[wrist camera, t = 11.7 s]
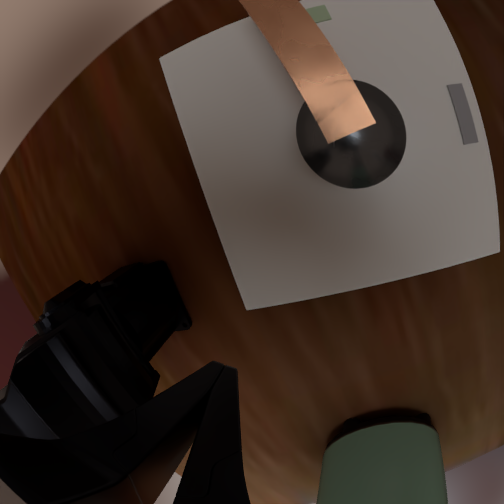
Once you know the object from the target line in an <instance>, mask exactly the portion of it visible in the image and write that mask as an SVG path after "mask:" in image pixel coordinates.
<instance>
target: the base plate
mask: <svg viewBox="0 0 504 504" xmlns="http://www.w3.org/2000/svg"><path fill="white" fill-rule="evenodd" d="M299 2H300V3H301V4H302V6H303V7H304V8H305V10H306V11H307V12H308V13H309V15H310V16H311V17H312V19H313V20H314V22H315V23H316V24H317V26H318V27H319V28H320V30H321V31H322V33H323V34H324V36H325V37H326V38H327V40H328V41H329V43H330V44H331V46H332V47H333V49H334V50H335V52H336V53H337V55H338V57H339V58H340V60H341V61H342V63H343V65H344V66H345V68H346V69H347V71H348V73H349V74H350V76H351V78H352V80H358V81H363V82H366V83H369V84H371V85H373V86H375V87H377V88H378V89H380V90H381V91H383V92H384V93H385V94H386V95H388V96H389V98H390V99H391V100H392V101H393V102H394V103H395V105H396V106H397V108H398V109H399V111H400V113H401V115H402V118H403V120H404V124H405V128H406V148H405V152H404V155H403V158H402V160H401V162H400V164H399V165H398V167H397V168H396V170H395V171H394V172H393V173H392V174H391V175H390V176H389V177H388V178H386V179H385V180H384V181H382V182H380V183H378V184H376V185H373V186H371V187H367V188H360V189H350V188H344V187H339V186H336V185H334V184H331V183H329V182H327V181H326V180H324V179H322V178H321V177H320V176H318V175H317V174H316V173H315V172H314V171H313V170H312V169H311V168H310V167H309V166H308V164H307V163H306V161H305V160H304V158H303V156H302V154H301V152H300V150H299V147H298V143H297V138H296V122H297V118H298V114H299V111H300V109H301V107H302V105H303V103H304V99H303V98H302V96H301V94H300V92H299V91H298V89H297V87H296V86H295V84H294V82H293V81H292V79H291V77H290V76H289V74H288V72H287V71H286V69H285V68H284V66H283V64H282V63H281V61H280V60H279V58H278V57H277V55H276V53H275V52H274V50H273V49H272V47H271V46H270V44H269V43H268V41H267V40H266V38H265V37H264V36H263V34H262V33H261V31H260V30H259V28H258V27H257V25H256V24H255V23H254V21H253V20H252V19H251V17H247V18H245V19H242V20H239V21H237V22H234V23H232V24H229V25H227V26H225V27H222V28H220V29H217V30H215V31H213V32H211V33H208V34H206V35H204V36H202V37H200V38H198V39H196V40H193V41H191V42H189V43H187V44H185V45H183V46H181V47H180V48H178V49H176V50H174V51H172V52H170V53H168V54H166V55H165V56H163V57H161V58H159V60H160V63H161V66H162V69H163V72H164V75H165V79H166V82H167V85H168V88H169V91H170V94H171V97H172V100H173V104H174V107H175V110H176V113H177V116H178V119H179V122H180V125H181V128H182V131H183V134H184V137H185V140H186V143H187V146H188V149H189V152H190V155H191V158H192V161H193V163H194V166H195V169H196V172H197V175H198V178H199V181H200V184H201V187H202V190H203V192H204V195H205V198H206V201H207V204H208V207H209V209H210V212H211V215H212V218H213V221H214V223H215V226H216V229H217V232H218V235H219V237H220V240H221V243H222V246H223V248H224V251H225V254H226V257H227V259H228V262H229V265H230V268H231V270H232V273H233V276H234V278H235V281H236V284H237V286H238V289H239V292H240V294H241V297H242V300H243V302H244V305H245V308H246V310H252V309H258V308H264V307H269V306H275V305H281V304H286V303H292V302H297V301H302V300H307V299H313V298H318V297H323V296H328V295H332V294H337V293H342V292H347V291H351V290H356V289H361V288H365V287H369V286H374V285H378V284H383V283H387V282H391V281H395V280H399V279H403V278H407V277H412V276H415V275H419V274H423V273H427V272H431V271H435V270H439V269H442V268H446V267H450V266H453V265H457V264H460V263H464V262H468V261H471V260H474V259H478V258H481V257H485V256H488V255H491V254H494V253H498V252H500V237H499V219H498V207H497V197H496V189H495V182H494V175H493V169H492V163H491V157H490V152H489V147H488V143H487V138H486V134H485V130H484V126H483V122H482V118H481V114H480V111H479V107H478V104H477V101H476V97H475V94H474V91H473V88H472V85H471V82H470V79H469V77H468V74H467V71H466V68H465V66H464V63H463V61H462V58H461V56H460V53H459V51H458V49H457V46H456V44H455V42H454V40H453V38H452V35H451V33H450V31H449V29H448V27H447V25H446V23H445V21H444V19H443V17H442V15H441V13H440V11H439V10H438V8H437V6H436V4H435V2H434V1H433V0H301V1H299Z"/></svg>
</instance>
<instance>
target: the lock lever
mask: <svg viewBox="0 0 504 504" xmlns="http://www.w3.org/2000/svg"><path fill="white" fill-rule="evenodd" d="M238 1H239V2H240V3H241V5H242V6H243V7H244V9H245V10H246V11H247V13H248V14H249V16H250V17H251V19H252V20H253V21H254V23H255V24H256V25H257V27H258V28H259V30H260V31H261V33H262V34H263V36H264V37H265V38H266V40H267V41H268V43H269V44H270V46H271V47H272V49H273V50H274V52H275V53H276V55H277V57H278V58H279V60H280V61H281V63H282V64H283V66H284V68H285V69H286V71H287V72H288V74H289V76H290V77H291V79H292V81H293V82H294V84H295V86H296V87H297V89H298V91H299V92H300V94H301V96H302V98H303V99H304V103H303V105H302V107H301V109H300V111H299V114H298V118H297V122H296V138H297V143H298V147H299V150H300V152H301V154H302V156H303V158H304V160H305V161H306V163H307V164H308V166H309V167H310V168H311V169H312V170H313V171H314V172H315V173H316V174H317V175H318V176H320V177H321V178H322V179H324V180H326V181H327V182H329V183H331V184H334V185H336V186H339V187H344V188H350V189H360V188H367V187H371V186H373V185H376V184H378V183H380V182H382V181H384V180H385V179H386V178H388V177H389V176H390V175H391V174H392V173H393V172H394V171H395V170H396V168H397V167H398V165H399V164H400V162H401V160H402V158H403V155H404V152H405V148H406V128H405V124H404V120H403V118H402V115H401V113H400V111H399V109H398V108H397V106H396V105H395V103H394V102H393V101H392V100H391V99H390V98H389V96H388V95H386V94H385V93H384V92H383V91H381V90H380V89H378V88H377V87H375V86H373V85H371V84H369V83H366V82H363V81H358V80H352V78H351V76H350V74H349V73H348V71H347V69H346V68H345V66H344V65H343V63H342V61H341V60H340V58H339V57H338V55H337V53H336V52H335V50H334V49H333V47H332V46H331V44H330V43H329V41H328V40H327V38H326V37H325V36H324V34H323V33H322V31H321V30H320V28H319V27H318V26H317V24H316V23H315V22H314V20H313V19H312V17H311V16H310V15H309V13H308V12H307V11H306V10H305V8H304V7H303V6H302V4H301V3H300V2H299V1H298V0H238Z"/></svg>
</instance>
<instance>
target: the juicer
mask: <svg viewBox="0 0 504 504" xmlns="http://www.w3.org/2000/svg"><path fill="white" fill-rule="evenodd" d="M316 504H448V500H447V489H446V480H445V472H444V465H443V458H442V452H441V446H440V441H439V435H438V432H437V431H436V429H435V428H434V427H433V426H432V424H431V420H430V416H429V415H428V414H420V415H418V416H416V417H415V418H413V417H408V416H391V417H384V418H377V419H373V420H370V421H366V422H362V421H361V420H360V419H356V418H353V419H349V420H347V421H345V423H344V428H343V432H342V433H340V434H339V435H337V436H336V437H334V439H333V440H332V441H331V442H330V443H329V444H328V445H327V448H326V450H325V452H324V455H323V460H322V468H321V476H320V483H319V490H318V496H317V503H316Z"/></svg>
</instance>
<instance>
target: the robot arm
mask: <svg viewBox="0 0 504 504" xmlns="http://www.w3.org/2000/svg"><path fill="white" fill-rule="evenodd" d="M159 265H160V266H161V267H162V269H161V268H160V267H159ZM39 318H40V319H39V320H38V321H37V322H36V323H35V324H34V325H33V326H34V328H35V329H36V331H37V334H36V335H35V336H33V337H32V338H30V339H29V340H28V341H26V342H25V344H24V345H23V347H22V349H21V350H20V352H19V354H18V356H17V357H16V360H15V363H14V366H13V369H12V372H11V376H10V379H9V382H8V385H6V386H5V387H4V388H3V389H1V390H0V504H154V503H155V501H156V500H157V498H158V496H159V495H160V493H161V492H162V490H163V489H164V487H165V486H166V484H167V483H168V481H169V480H170V478H171V477H172V475H173V473H174V472H175V470H176V469H177V467H178V466H179V464H180V462H181V461H182V459H183V458H184V456H185V454H186V453H187V451H188V450H189V448H190V446H191V445H192V443H193V445H192V448H191V451H190V454H189V457H188V460H187V463H186V466H185V469H184V472H183V475H182V478H181V481H180V484H179V487H178V490H177V493H176V497H175V499H174V502H173V504H250V500H249V496H248V492H247V487H246V482H245V477H244V470H243V459H242V452H241V451H242V445H241V428H240V410H239V391H238V371H237V369H236V368H234V367H231V366H228V365H226V366H225V365H224V364H222V363H219V362H216V361H212V362H210V363H208V364H207V365H205V366H204V367H202V368H201V369H199V370H197V371H196V372H194V373H193V374H191V375H189V376H188V377H186V378H185V379H183V380H181V381H180V382H178V383H176V384H175V385H173V386H172V387H170V388H168V389H167V390H165V391H163V392H162V393H160V394H158V395H156V396H155V397H153V396H154V393H155V390H156V387H157V384H158V381H159V378H160V374H159V373H158V372H157V371H156V370H154V368H153V367H152V366H151V364H150V363H149V361H150V360H151V359H152V358H153V356H154V355H155V354H156V353H157V352H158V350H159V349H160V348H161V347H162V345H163V344H164V343H165V342H166V341H167V339H168V338H169V337H170V336H171V334H172V333H173V332H174V331H181V330H188V329H189V328H190V327H191V326H192V322H191V320H190V318H189V316H188V313H187V311H186V309H185V307H184V305H183V302H182V300H181V298H180V296H179V293H178V291H177V289H176V286H175V284H174V282H173V279H172V277H171V275H170V272H169V270H168V267H167V265H166V263H165V262H164V261H156V262H153V263H149V264H146V265H143V264H142V263H140V262H138V263H135V264H131V265H128V266H124V267H121V268H119V269H118V270H116V271H115V272H113V273H112V274H110V275H109V276H107V277H106V278H104V279H103V280H101V281H100V282H98V281H96V282H95V283H93V284H90V283H87V284H86V283H84V282H83V281H81V280H79V281H77V282H76V283H74V284H73V285H71V286H70V287H68V288H67V289H65V290H64V291H62V292H60V293H59V294H57V295H56V296H54V297H53V298H51V299H50V300H49V301H47V302H46V303H45V304H44V310H43V314H42V315H41V316H40V317H39ZM185 323H186V324H187V325H186V324H185Z"/></svg>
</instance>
